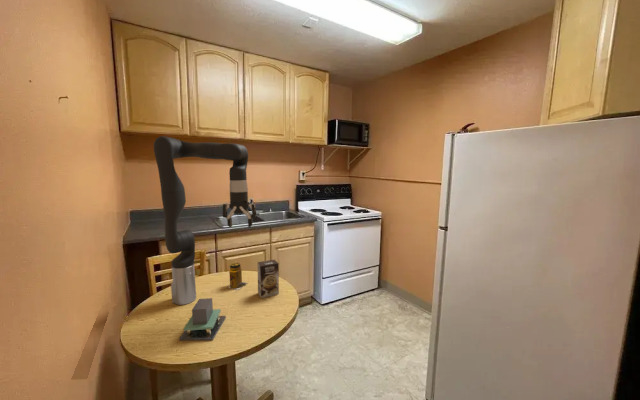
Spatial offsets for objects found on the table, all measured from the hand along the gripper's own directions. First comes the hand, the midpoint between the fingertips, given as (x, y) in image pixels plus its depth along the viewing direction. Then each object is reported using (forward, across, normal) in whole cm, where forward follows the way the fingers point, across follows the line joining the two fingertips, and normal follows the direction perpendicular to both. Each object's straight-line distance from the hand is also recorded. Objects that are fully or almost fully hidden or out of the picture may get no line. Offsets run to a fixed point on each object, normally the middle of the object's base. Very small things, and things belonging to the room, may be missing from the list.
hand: (240, 226), depth 117 cm
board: (+32, -10, -19) cm, 39 cm away
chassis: (+36, -10, -19) cm, 42 cm away
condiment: (+36, -8, +18) cm, 41 cm away
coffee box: (+36, +10, +9) cm, 39 cm away
